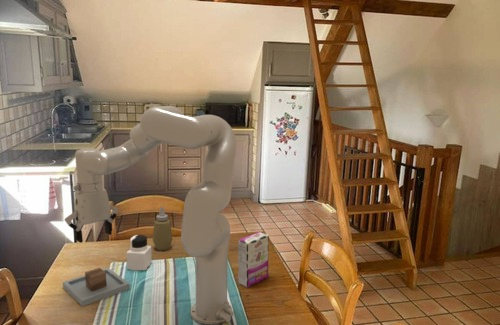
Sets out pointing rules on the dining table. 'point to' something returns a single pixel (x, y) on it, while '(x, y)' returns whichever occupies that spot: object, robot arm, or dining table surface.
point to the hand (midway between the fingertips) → (94, 237)
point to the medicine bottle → (139, 253)
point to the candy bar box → (253, 259)
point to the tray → (87, 296)
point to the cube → (95, 279)
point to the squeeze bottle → (162, 231)
